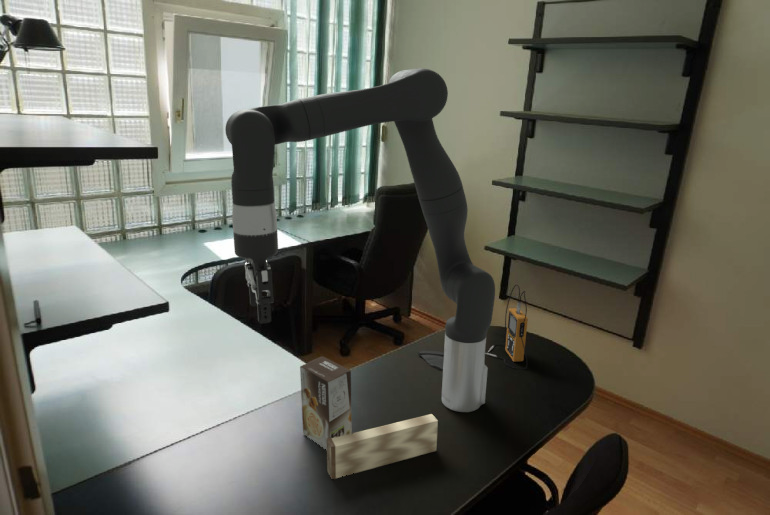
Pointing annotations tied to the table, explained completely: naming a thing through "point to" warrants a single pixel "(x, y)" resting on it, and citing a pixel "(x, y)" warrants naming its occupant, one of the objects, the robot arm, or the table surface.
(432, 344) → the table surface
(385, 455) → the board
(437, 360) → the curved wedge
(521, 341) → the multimeter
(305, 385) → the coffee box
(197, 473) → the table surface
